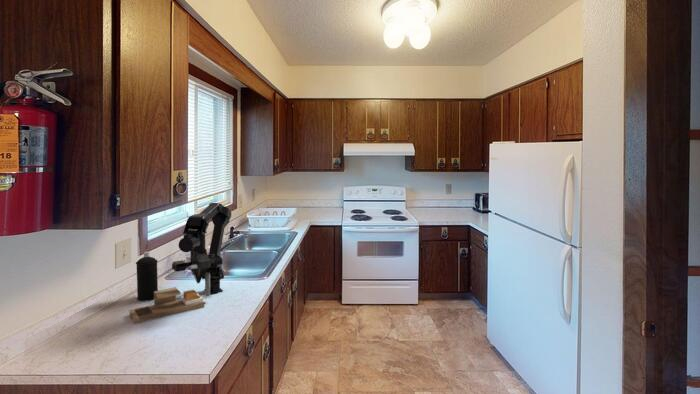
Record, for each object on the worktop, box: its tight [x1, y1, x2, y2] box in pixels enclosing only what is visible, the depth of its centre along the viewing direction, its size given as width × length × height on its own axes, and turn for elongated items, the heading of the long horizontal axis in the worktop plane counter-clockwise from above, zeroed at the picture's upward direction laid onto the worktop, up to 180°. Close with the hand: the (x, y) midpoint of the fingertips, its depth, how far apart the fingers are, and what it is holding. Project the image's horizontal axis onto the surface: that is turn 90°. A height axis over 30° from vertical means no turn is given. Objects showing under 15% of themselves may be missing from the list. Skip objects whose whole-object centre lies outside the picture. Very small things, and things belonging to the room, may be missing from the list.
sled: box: [180, 273, 212, 305], centre depth 150 cm, size 7×11×10 cm, turn 131°
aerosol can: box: [135, 251, 159, 302], centre depth 155 cm, size 8×8×20 cm
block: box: [183, 289, 198, 301], centre depth 149 cm, size 4×4×4 cm
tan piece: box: [128, 286, 205, 325], centre depth 143 cm, size 10×25×8 cm, turn 131°
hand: (198, 283), depth 150 cm, fingers closed
